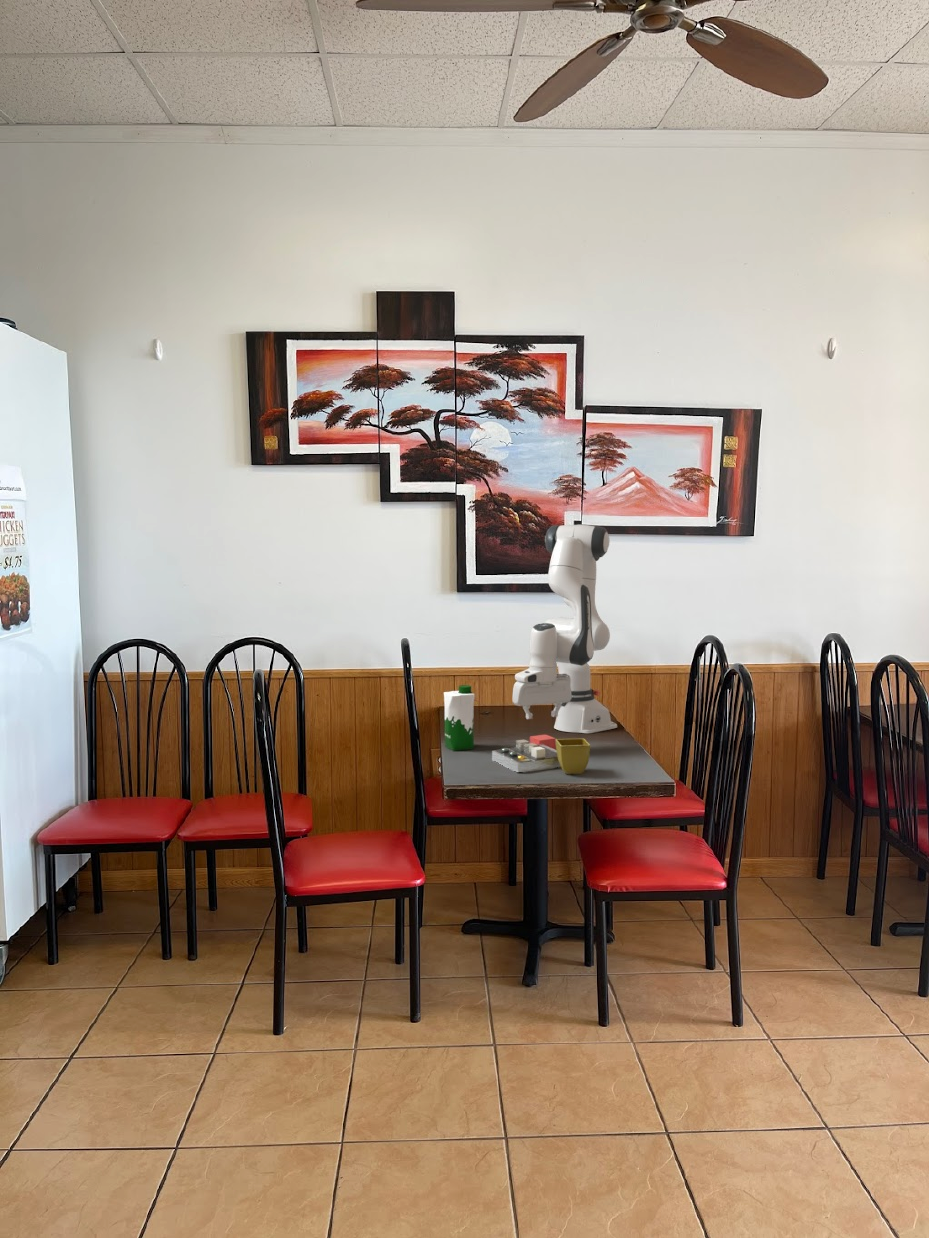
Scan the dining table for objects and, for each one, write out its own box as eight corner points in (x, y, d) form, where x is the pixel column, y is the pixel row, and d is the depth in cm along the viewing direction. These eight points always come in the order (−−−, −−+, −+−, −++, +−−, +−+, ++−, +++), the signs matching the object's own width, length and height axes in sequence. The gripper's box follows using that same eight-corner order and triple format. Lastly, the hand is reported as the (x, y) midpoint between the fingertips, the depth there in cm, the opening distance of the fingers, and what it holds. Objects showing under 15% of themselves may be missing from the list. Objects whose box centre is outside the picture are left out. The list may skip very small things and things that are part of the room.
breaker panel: (542, 753, 287) (542, 735, 287) (570, 765, 273) (570, 747, 272) (492, 760, 279) (492, 742, 279) (517, 773, 265) (517, 754, 264)
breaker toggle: (539, 754, 273) (540, 746, 273) (545, 757, 270) (545, 748, 270) (531, 755, 272) (531, 747, 272) (536, 758, 269) (536, 749, 269)
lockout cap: (545, 745, 297) (545, 734, 297) (555, 750, 292) (555, 738, 291) (529, 748, 294) (529, 736, 294) (539, 752, 289) (539, 740, 289)
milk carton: (477, 749, 293) (477, 687, 291) (451, 752, 290) (451, 690, 287) (466, 743, 301) (466, 683, 299) (441, 745, 298) (440, 685, 295)
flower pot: (554, 768, 270) (555, 738, 269) (583, 767, 271) (584, 737, 270) (560, 776, 262) (560, 745, 261) (590, 775, 262) (590, 745, 261)
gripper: (565, 671, 297) (564, 713, 299) (510, 675, 288) (509, 718, 290) (575, 674, 292) (574, 717, 293) (520, 677, 283) (519, 721, 284)
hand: (541, 717), depth 291 cm, fingers open, 8 cm apart
